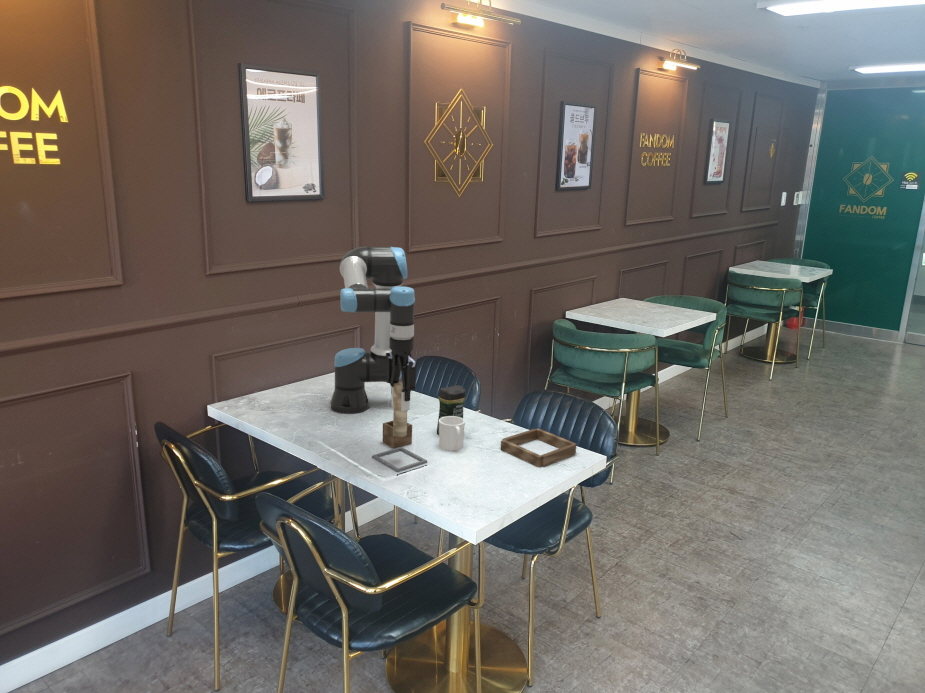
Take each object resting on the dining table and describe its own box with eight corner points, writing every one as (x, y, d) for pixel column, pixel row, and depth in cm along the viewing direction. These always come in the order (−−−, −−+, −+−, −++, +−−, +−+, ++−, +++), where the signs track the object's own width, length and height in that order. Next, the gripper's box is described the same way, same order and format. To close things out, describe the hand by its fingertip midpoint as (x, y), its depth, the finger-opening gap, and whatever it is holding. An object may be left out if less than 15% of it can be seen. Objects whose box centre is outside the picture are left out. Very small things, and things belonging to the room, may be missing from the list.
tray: (371, 460, 231) (371, 455, 231) (401, 451, 239) (401, 446, 239) (397, 475, 221) (397, 470, 221) (427, 465, 229) (427, 460, 229)
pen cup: (382, 444, 244) (382, 423, 242) (399, 440, 249) (399, 418, 247) (394, 451, 239) (395, 429, 237) (411, 446, 244) (412, 424, 242)
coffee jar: (446, 442, 249) (448, 392, 244) (433, 435, 255) (434, 386, 250) (467, 436, 255) (469, 387, 250) (454, 429, 261) (455, 381, 256)
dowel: (390, 434, 228) (391, 383, 223) (401, 431, 231) (402, 381, 226) (398, 438, 225) (399, 387, 220) (409, 435, 227) (410, 384, 223)
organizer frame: (498, 449, 245) (499, 439, 244) (536, 436, 257) (536, 427, 256) (540, 468, 231) (540, 458, 230) (577, 453, 243) (578, 444, 243)
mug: (434, 445, 246) (434, 417, 243) (457, 442, 249) (458, 414, 247) (445, 457, 236) (446, 428, 233) (470, 454, 239) (471, 425, 237)
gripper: (375, 332, 223) (375, 402, 229) (409, 344, 211) (407, 418, 217) (394, 330, 228) (393, 398, 234) (428, 341, 216) (426, 413, 222)
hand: (400, 407), depth 225 cm, fingers closed on dowel, 4 cm apart
